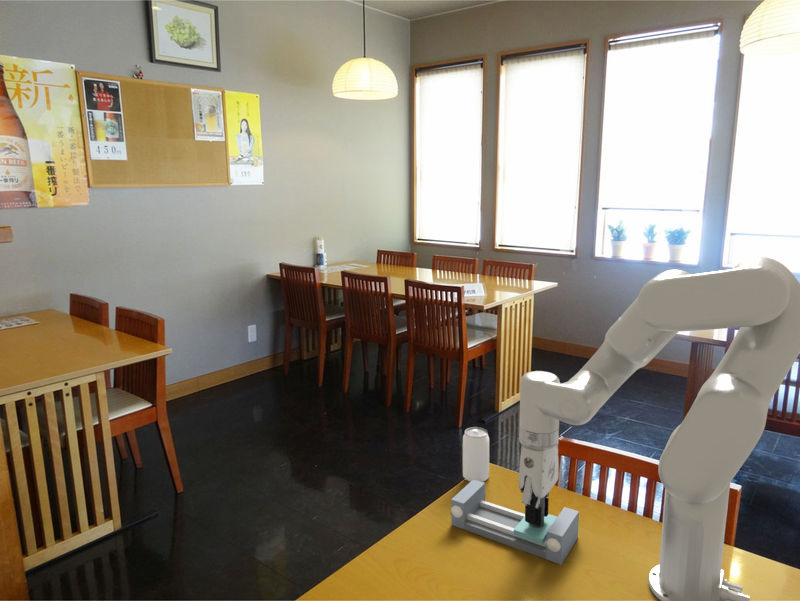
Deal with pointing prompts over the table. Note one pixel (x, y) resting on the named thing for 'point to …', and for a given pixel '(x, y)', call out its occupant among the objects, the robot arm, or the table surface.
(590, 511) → the table surface
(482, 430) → the can
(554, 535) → the rail track
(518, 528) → the carriage
